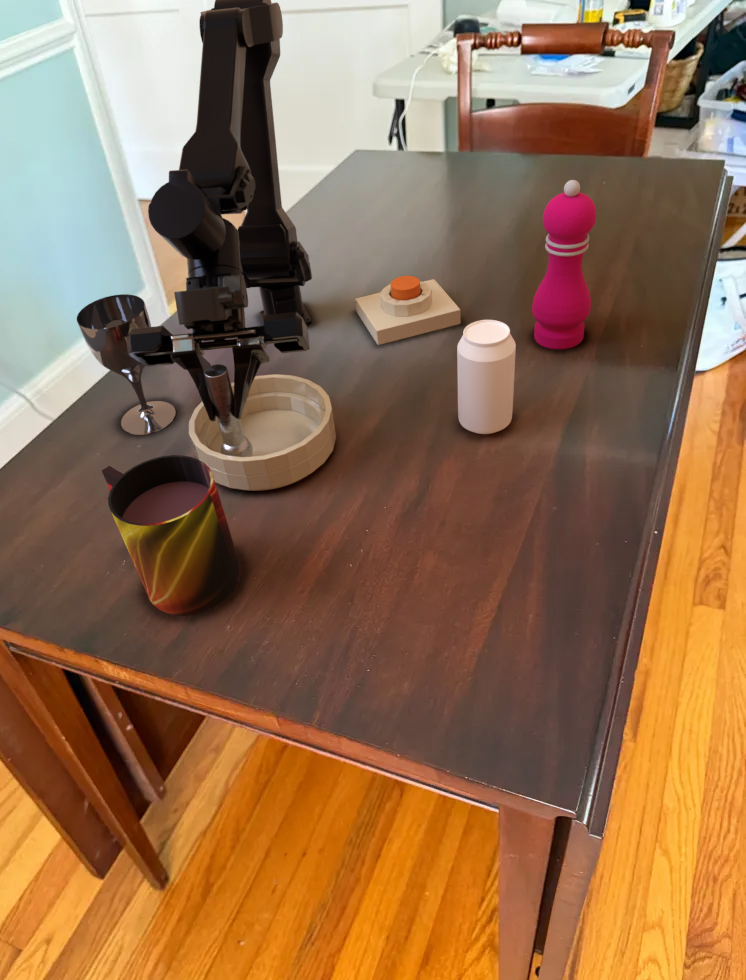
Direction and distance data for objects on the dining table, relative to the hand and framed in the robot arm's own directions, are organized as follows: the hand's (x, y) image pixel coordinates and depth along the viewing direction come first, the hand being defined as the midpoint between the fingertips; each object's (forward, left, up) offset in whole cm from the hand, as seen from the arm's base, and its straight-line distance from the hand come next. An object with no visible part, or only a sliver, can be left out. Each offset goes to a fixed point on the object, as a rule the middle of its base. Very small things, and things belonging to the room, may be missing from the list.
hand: (225, 419), depth 84 cm
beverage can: (+2, +29, -8) cm, 30 cm away
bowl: (-4, +4, -8) cm, 10 cm away
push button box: (-25, +29, -8) cm, 39 cm away
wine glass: (-17, -9, -8) cm, 21 cm away
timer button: (-25, +29, -5) cm, 38 cm away
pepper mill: (-11, +45, -8) cm, 47 cm away
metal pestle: (-1, 0, -7) cm, 7 cm away
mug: (+13, -9, -8) cm, 18 cm away
